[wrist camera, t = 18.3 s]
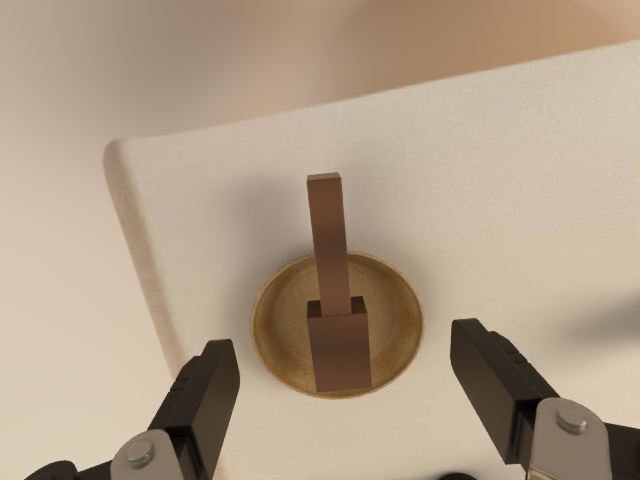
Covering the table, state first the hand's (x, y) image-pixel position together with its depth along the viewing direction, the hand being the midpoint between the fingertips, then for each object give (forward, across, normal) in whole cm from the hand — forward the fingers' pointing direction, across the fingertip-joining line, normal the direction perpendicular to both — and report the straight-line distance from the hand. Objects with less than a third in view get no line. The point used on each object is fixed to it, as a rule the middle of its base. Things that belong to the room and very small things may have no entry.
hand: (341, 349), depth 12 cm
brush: (+13, 0, +4) cm, 14 cm away
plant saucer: (+16, 0, +9) cm, 18 cm away
